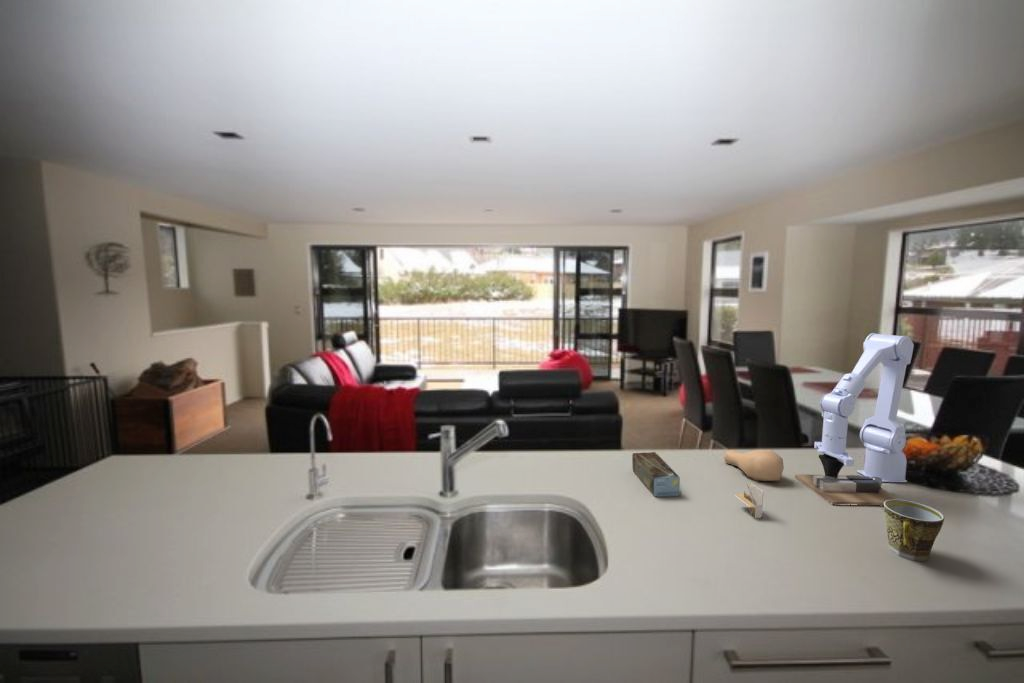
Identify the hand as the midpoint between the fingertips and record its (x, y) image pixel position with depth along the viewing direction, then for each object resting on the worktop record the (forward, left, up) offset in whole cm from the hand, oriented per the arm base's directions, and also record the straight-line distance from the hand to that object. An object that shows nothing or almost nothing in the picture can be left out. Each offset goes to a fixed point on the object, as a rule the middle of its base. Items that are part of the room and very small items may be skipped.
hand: (830, 480), depth 134 cm
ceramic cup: (+5, +34, -2) cm, 35 cm away
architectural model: (+30, +16, -3) cm, 34 cm away
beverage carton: (+50, -2, -2) cm, 50 cm away
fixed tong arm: (-2, +5, -1) cm, 5 cm away
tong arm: (-3, +2, -1) cm, 4 cm away
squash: (+18, -10, -2) cm, 21 cm away
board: (-3, +2, -2) cm, 4 cm away
